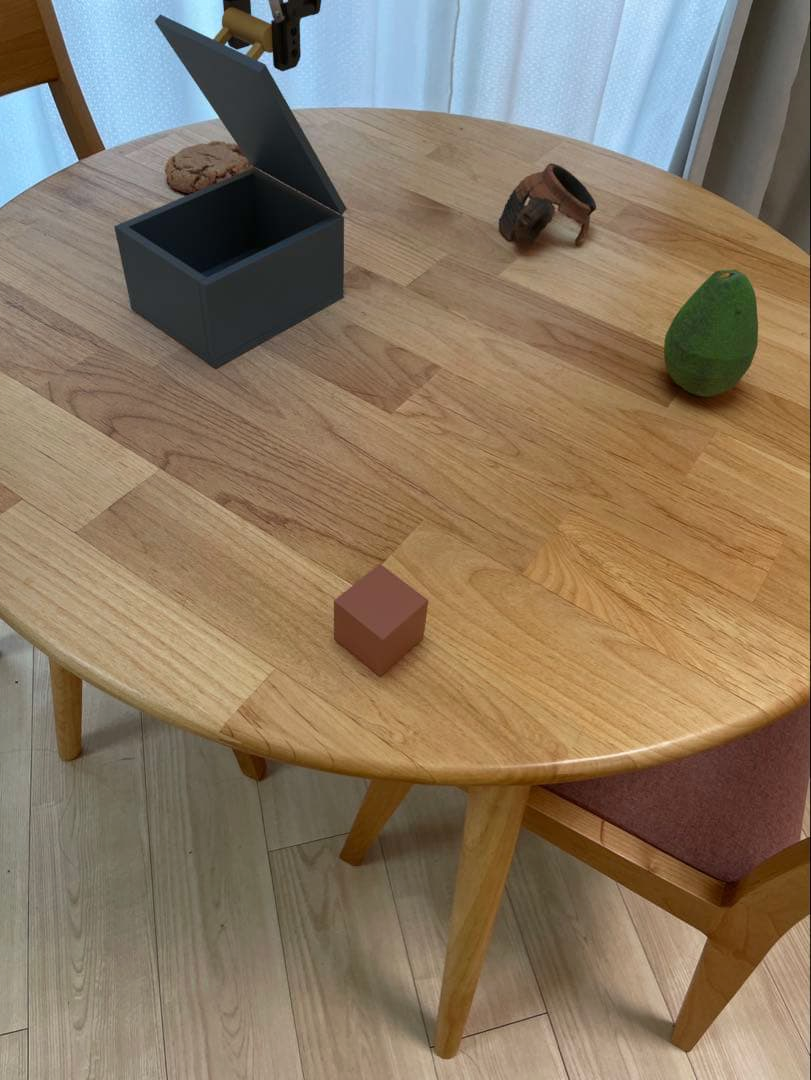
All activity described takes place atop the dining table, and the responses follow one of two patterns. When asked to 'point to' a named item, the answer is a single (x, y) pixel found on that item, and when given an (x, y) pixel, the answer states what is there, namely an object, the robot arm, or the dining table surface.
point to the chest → (233, 264)
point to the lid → (252, 102)
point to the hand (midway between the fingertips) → (263, 56)
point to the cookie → (205, 165)
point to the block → (379, 619)
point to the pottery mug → (545, 204)
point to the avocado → (713, 335)
